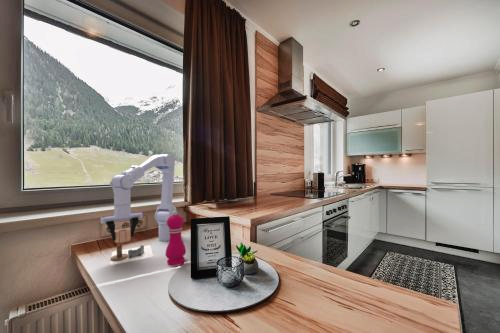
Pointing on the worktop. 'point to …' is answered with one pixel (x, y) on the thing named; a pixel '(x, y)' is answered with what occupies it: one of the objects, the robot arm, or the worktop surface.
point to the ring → (122, 235)
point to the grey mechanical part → (136, 252)
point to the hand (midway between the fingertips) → (122, 238)
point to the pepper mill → (175, 241)
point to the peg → (119, 254)
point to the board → (144, 255)
